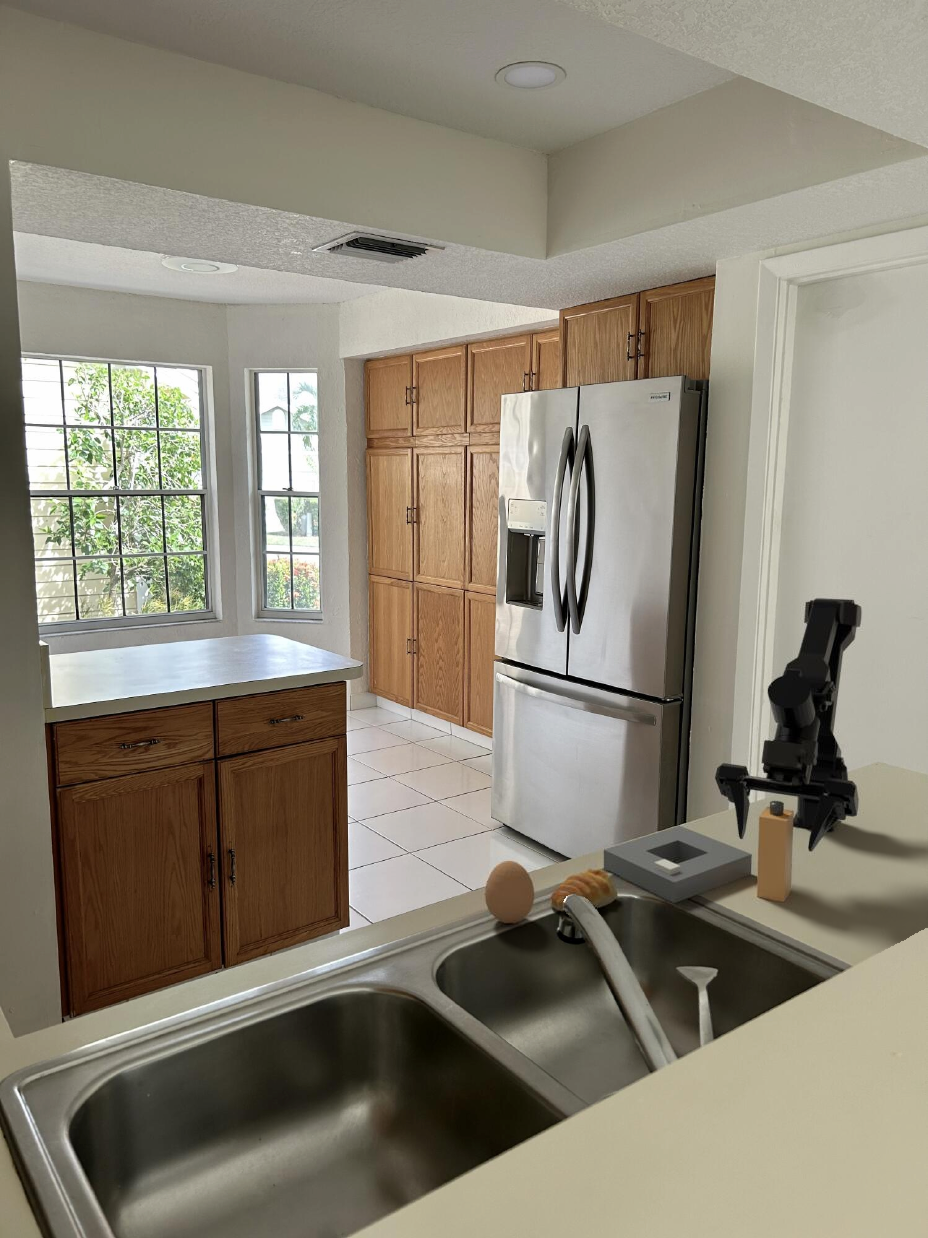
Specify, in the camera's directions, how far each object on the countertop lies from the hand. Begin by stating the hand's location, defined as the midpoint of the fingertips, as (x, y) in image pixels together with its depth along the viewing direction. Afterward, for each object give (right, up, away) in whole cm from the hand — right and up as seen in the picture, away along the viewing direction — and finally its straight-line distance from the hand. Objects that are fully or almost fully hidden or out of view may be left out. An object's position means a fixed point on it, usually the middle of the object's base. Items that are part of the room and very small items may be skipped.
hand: (774, 843), depth 124 cm
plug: (+1, -7, +2) cm, 7 cm away
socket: (-11, -6, +9) cm, 16 cm away
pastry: (-26, -8, +1) cm, 27 cm away
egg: (-36, -9, -5) cm, 38 cm away
